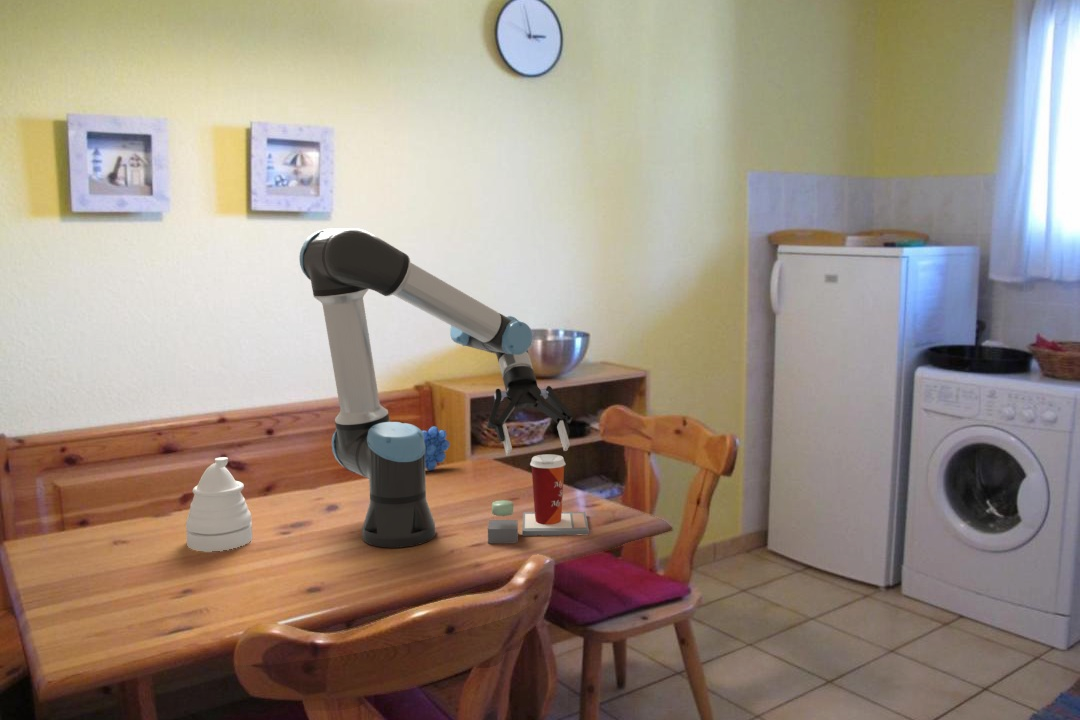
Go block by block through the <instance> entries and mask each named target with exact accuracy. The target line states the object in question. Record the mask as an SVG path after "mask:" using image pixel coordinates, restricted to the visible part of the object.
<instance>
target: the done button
mask: <svg viewBox="0 0 1080 720" xmlns="http://www.w3.org/2000/svg"><path fill="white" fill-rule="evenodd" d="M491 509H492V510H491V512H492V513H491V514H492V515H494V516H497V517H500V516H501V517H507V516H511V515H513V514H514V502H513V501H511V500H496V501H492V503H491Z"/></svg>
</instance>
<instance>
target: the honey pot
mask: <svg viewBox="0 0 1080 720" xmlns="http://www.w3.org/2000/svg"><path fill="white" fill-rule="evenodd" d="M214 462H215V463H212V464H210V465H209V466H208V467H207V468H206V469H205V471H204V472H203V474H202V475H201V478H200V479H199V482H198V484H197V485H196V486H194V487H193V488H192V493H193V499H192V502H190V506H189V509H188V516H187V517H186V521H185V525H186V526H185V527H186V545H187V546H188V547H189V548H191V549H194V550H198V551H204V552H203V553H213V552H212V551H220V552H224V551H223V550H227V551H230V550H229V549H232V550H234V549H233V548H236V549H238V548H237V547H239V548H241V547H240V546H242V547H244V546H246V545H245V544H247V543H248V544H249V542H250V541H251V542H252V541H253V527H252V513H251V511H250V510H249V508H248V504H247V502H246V498H245V497H244V495H243V494H242V491H243V489H244V488H245V486H244V483H243V482H241V481H238V480H235V477H234V476H233V475H232V474H231V472H230V471H229V470H228V468H227V467H226V466H227V465H228V462H229V458H228V457H225V456H221V457H216V458H214ZM251 542H250V543H251ZM248 544H247V545H248ZM243 545H244V546H243ZM187 546H186V547H187ZM188 547H187V548H188ZM189 548H188V549H189ZM191 549H190V550H191ZM198 551H197V552H198Z"/></svg>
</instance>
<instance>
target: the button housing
mask: <svg viewBox="0 0 1080 720" xmlns="http://www.w3.org/2000/svg"><path fill="white" fill-rule="evenodd" d="M518 523H519V521H518V519H489V521H488V525H487V526H488V527H487V542H488V543H487V544H518V536H519V535H518V533H519V531H518V530H519V529H518V528H519V525H518Z"/></svg>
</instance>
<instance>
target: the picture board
mask: <svg viewBox="0 0 1080 720" xmlns="http://www.w3.org/2000/svg"><path fill="white" fill-rule="evenodd" d="M521 531H522V534H521V535H522V537H525V536H527V537H528V536H529V537H530V536H533V537H535V536H537V535H541V536H564V535H563V534H567V535H566V536H575V535H574V534H589V535H590V529H589V523H588V518H587V513H586V511H562V514H561V521H560V522H559V523H557V524H550V525H546V524H540V523H537V522H536V520H535V511H533V512H531V511H530V512H529V511H527V512H525V511H524V512H523V513H522V530H521Z"/></svg>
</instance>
